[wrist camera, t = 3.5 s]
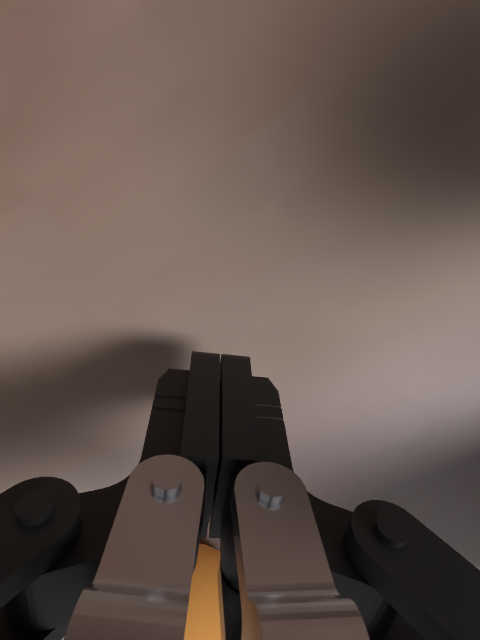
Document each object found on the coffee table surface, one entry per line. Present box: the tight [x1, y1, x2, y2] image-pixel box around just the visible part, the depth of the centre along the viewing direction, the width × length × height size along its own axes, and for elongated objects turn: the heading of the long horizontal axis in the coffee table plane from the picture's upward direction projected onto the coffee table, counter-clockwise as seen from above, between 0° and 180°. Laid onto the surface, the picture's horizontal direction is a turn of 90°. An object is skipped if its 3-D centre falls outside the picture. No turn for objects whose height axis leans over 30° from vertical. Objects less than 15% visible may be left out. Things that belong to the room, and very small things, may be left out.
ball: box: [184, 543, 221, 640], centre depth 15 cm, size 6×6×6 cm
